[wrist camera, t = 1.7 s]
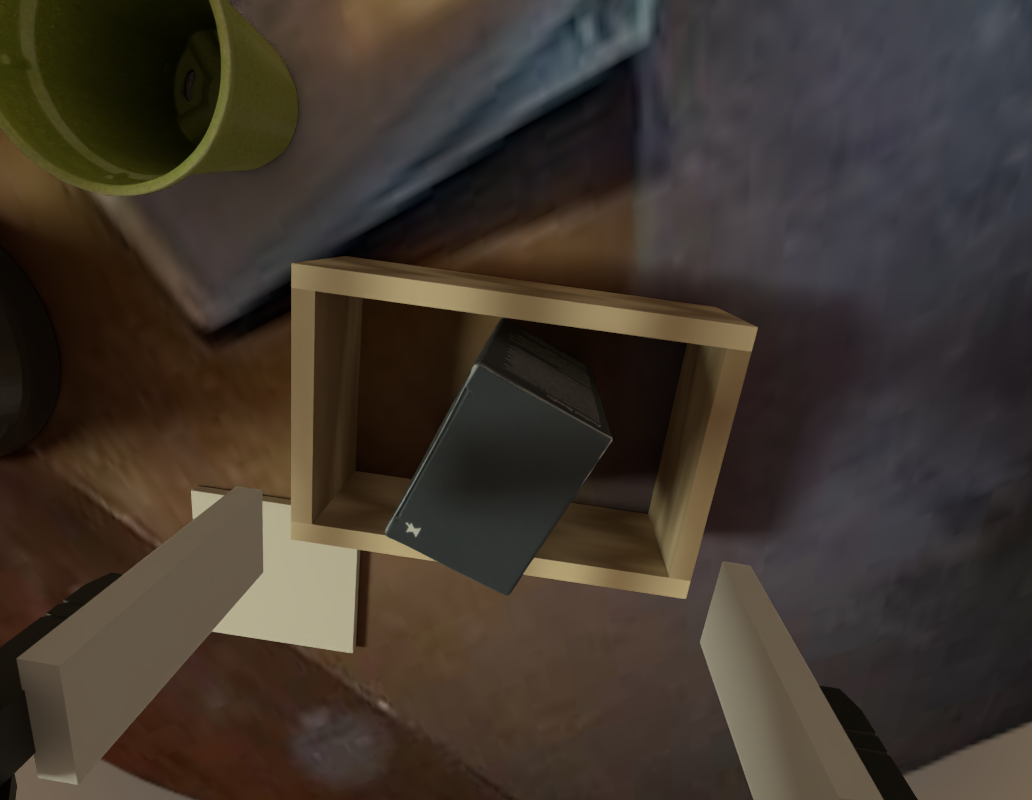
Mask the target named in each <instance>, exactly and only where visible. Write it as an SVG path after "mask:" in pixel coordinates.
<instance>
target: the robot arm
mask: <svg viewBox="0 0 1032 800" xmlns="http://www.w3.org/2000/svg"><path fill="white" fill-rule="evenodd" d="M59 379H60V364H59V355H58V349H57V344H56V339H55V335H54V332H53V329H52V326H51V323H50V320H49V318H48V315H47V313H46V311H45V309H44V306H43V304H42V302H41V300H40V299H39V297H38V295H37V293H36V292H35V290H34V288H33V287H32V285H31V283H30V282H29V281H28V279H27V278H26V276H25V275H24V273H23V272H22V271H21V270H20V268H19V267H18V266H17V265H16V263H15V262H14V261H13V260H12V259H11V258H10V256H9V255H8V254H7V253H6V252H5V251H4V250H3V249H2V248H1V247H0V457H3V456H5V455H8V454H10V453H12V452H14V451H16V450H18V449H20V448H22V447H23V446H25V445H26V444H27V443H29V442H30V441H31V440H32V439H33V438H34V437H35V436H37V434H38V433H39V432H40V431H41V430H42V428H43V427H44V426H45V424H46V423H47V421H48V419H49V417H50V415H51V413H52V411H53V408H54V405H55V402H56V399H57V394H58V389H59ZM262 573H263V512H262V490H258V489H251V488H245V487H238V486H236V487H235V488H233V489H232V490H231V491H229V492H228V493H227V494H226V495H224V496H223V497H222V498H220V499H219V500H218V501H217V502H215V503H214V504H213V505H212V506H210V507H209V508H208V509H206V510H205V511H204V512H203V513H201V514H200V515H199V516H198V517H196V518H195V519H194V520H192V521H191V522H190V523H189V524H187V525H186V526H185V527H184V528H182V529H181V530H180V531H178V532H177V533H176V534H175V535H173V536H172V537H171V538H169V539H168V540H167V541H166V542H164V543H163V544H162V545H161V546H159V547H158V548H157V549H155V550H154V551H153V552H152V553H150V554H149V555H148V556H147V557H145V558H144V559H143V560H141V561H140V562H139V563H138V564H136V565H135V566H134V567H133V568H131V569H130V570H129V571H127V572H126V573H125V574H124V575H123V574H117V573H110V574H107V575H105V576H103V577H101V578H99V579H96V580H94V581H92V582H90V583H88V584H85V585H84V586H82V587H81V588H80V589H78V590H77V591H76V592H74V593H73V594H72V595H70V596H69V597H68V598H66V599H65V600H64V601H63V603H62V604H58V605H57V606H55V607H54V608H53V609H51V610H50V611H49V612H47V613H46V615H45V617H41V618H39V619H38V620H37V621H35V622H34V623H33V624H31V625H30V626H28V627H27V628H26V629H24V630H23V631H22V632H20V633H19V634H18V635H16V636H15V637H14V638H12V639H11V640H10V641H8V642H7V643H6V644H4V645H3V646H2V647H0V800H15V798H16V790H17V784H16V779H15V774H14V773H15V772H16V771H17V770H18V769H19V768H20V767H21V766H22V765H23V764H24V763H25V762H26V761H27V760H28V759H29V758H30V757H31V756H32V755H33V754H34V757H35V762H36V768H37V773H38V778H42V779H48V780H54V781H59V782H66V783H71V784H76V785H77V784H79V783H80V782H81V780H82V779H83V778H84V777H85V776H86V775H87V774H88V773H89V771H90V770H91V769H92V768H93V767H94V766H95V764H96V763H97V762H98V761H99V760H100V759H101V758H102V757H103V755H104V754H105V753H106V752H107V751H108V750H109V749H110V747H111V746H112V745H113V744H114V743H115V742H116V740H117V739H118V738H119V737H120V736H121V735H122V734H123V732H124V731H125V730H126V729H127V728H128V727H129V726H130V724H131V723H132V722H133V721H134V720H135V719H136V718H137V716H138V715H139V714H140V713H141V712H142V711H143V710H144V708H145V707H146V706H147V705H148V704H149V703H150V702H151V700H152V699H153V698H154V697H155V696H156V695H157V694H158V692H159V691H160V690H161V689H162V688H163V687H164V686H165V684H166V683H167V682H168V681H169V680H170V679H171V677H172V676H173V675H174V674H175V673H176V672H177V671H178V669H179V668H180V667H181V666H182V665H183V664H184V663H185V661H186V660H187V659H188V658H189V657H190V656H191V655H192V653H193V652H194V651H195V650H196V649H197V648H198V647H199V645H200V644H201V643H202V642H203V641H204V640H205V639H206V637H207V636H208V635H209V634H210V633H211V632H212V631H213V629H214V628H215V627H216V626H217V625H218V624H219V622H220V621H221V620H222V619H223V618H224V617H225V616H226V614H227V613H228V612H229V611H230V610H231V609H232V608H233V606H234V605H235V604H236V603H237V602H238V601H239V600H240V598H241V597H242V596H243V595H244V594H245V593H246V592H247V590H248V589H249V588H250V587H251V586H252V585H253V584H254V582H255V581H256V580H257V579H258V578H259V577H260V576H261V574H262ZM700 644H701V647H702V650H703V653H704V656H705V659H706V662H707V664H708V667H709V670H710V673H711V676H712V679H713V682H714V685H715V688H716V691H717V694H718V697H719V700H720V703H721V706H722V709H723V712H724V714H725V717H726V720H727V723H728V726H729V729H730V732H731V735H732V738H733V741H734V744H735V747H736V750H737V753H738V756H739V759H740V761H741V764H742V767H743V770H744V773H745V776H746V779H747V782H748V785H749V788H750V791H751V794H752V797H753V800H918V799H917V798H916V796H915V795H914V793H913V791H912V790H911V788H910V787H909V785H908V783H907V782H906V780H905V779H904V777H903V775H902V774H901V772H900V771H899V769H898V768H897V766H896V764H895V763H894V761H893V760H892V758H891V756H888V755H887V750H886V748H885V747H884V745H883V744H882V742H881V741H880V739H879V737H877V736H875V731H874V729H873V728H872V726H871V725H870V723H869V721H868V720H867V718H866V717H865V715H864V714H863V712H862V710H861V709H860V708H859V707H858V706H857V705H856V704H855V703H854V702H853V701H852V700H851V699H849V698H848V697H847V696H846V695H845V694H844V693H843V692H842V691H841V690H840V689H837V688H831V687H825V686H819V685H818V684H817V682H816V680H815V678H814V677H813V675H812V673H811V671H810V670H809V668H808V666H807V664H806V662H805V661H804V659H803V657H802V655H801V654H800V652H799V650H798V648H797V647H796V645H795V643H794V641H793V640H792V638H791V636H790V634H789V633H788V631H787V629H786V627H785V626H784V624H783V622H782V620H781V619H780V617H779V615H778V613H777V612H776V610H775V608H774V606H773V605H772V603H771V601H770V599H769V598H768V596H767V594H766V592H765V591H764V589H763V587H762V585H761V583H760V582H759V580H758V578H757V576H756V575H755V573H754V571H753V569H752V568H751V566H749V565H743V564H736V563H730V562H722V565H721V569H720V572H719V576H718V580H717V583H716V587H715V590H714V594H713V597H712V601H711V604H710V608H709V612H708V615H707V619H706V622H705V626H704V629H703V633H702V636H701V640H700Z"/></svg>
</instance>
